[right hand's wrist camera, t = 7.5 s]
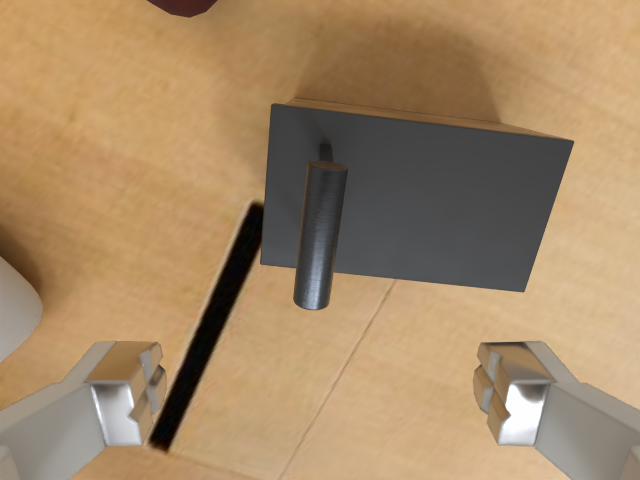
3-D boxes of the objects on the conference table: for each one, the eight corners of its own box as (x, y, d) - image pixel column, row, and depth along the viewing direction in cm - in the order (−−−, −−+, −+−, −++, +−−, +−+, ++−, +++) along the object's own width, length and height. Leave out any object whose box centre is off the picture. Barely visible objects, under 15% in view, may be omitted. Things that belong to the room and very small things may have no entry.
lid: (261, 258, 28) (237, 334, 20) (273, 103, 25) (248, 115, 16) (517, 285, 29) (598, 370, 21) (565, 138, 25) (686, 168, 17)
